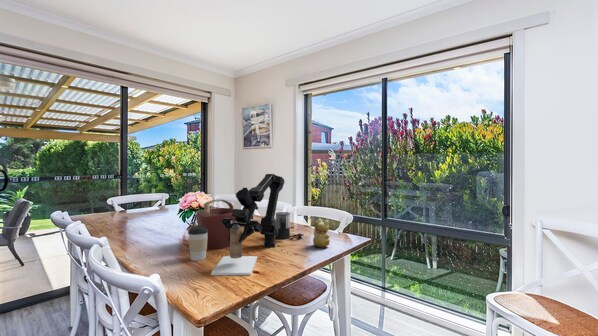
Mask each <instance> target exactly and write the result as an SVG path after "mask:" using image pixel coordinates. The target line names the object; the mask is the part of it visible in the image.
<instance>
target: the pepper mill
mask: <svg viewBox="0 0 598 336" xmlns="http://www.w3.org/2000/svg"><path fill="white" fill-rule="evenodd" d="M242 233H243V227H240V226H239V225H238V224H234V225H233V226H232V228H230V247H229V256H230V258H241V257H242V256H243V241H242V242H241V243H240V242H239V240H240V237H241V235H242Z"/></svg>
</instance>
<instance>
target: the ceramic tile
mask: <svg viewBox="0 0 598 336" xmlns="http://www.w3.org/2000/svg"><path fill="white" fill-rule="evenodd" d="M257 260H258V256H257V255H247V256H246V255H242V257H241V258H230V255H228V256H226V255H223V256H222V258H220V260H219V262H218V263H217V264H216V265H215V267H214V268H213V269H212V270H211V272H210V276H251V275H252V273H253V271H254V268H255V265H256V262H257Z"/></svg>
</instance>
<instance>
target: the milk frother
mask: <svg viewBox="0 0 598 336" xmlns="http://www.w3.org/2000/svg"><path fill="white" fill-rule="evenodd" d="M275 221H276V227H277V228H278V230H279V232H278V235H276V236H275V239H276V240H277V239H278V240H287V239H290V238H293V237H294V238H296V237H297V238H298V239H300V238H299V237H301V238H302V237H304V236H305V235H304V233H300V232H299V233H297V234H292V235H291V229H290V228H291V223H290V222H291V213H290V212H288V211H287V212H285V211H280V212H275Z"/></svg>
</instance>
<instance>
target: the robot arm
mask: <svg viewBox="0 0 598 336" xmlns="http://www.w3.org/2000/svg"><path fill="white" fill-rule="evenodd" d="M284 184H285V179H284V178H283V177H282V176H279V175H276V174H274V173H266V174H264V177H263V178H262V179H261V180H260V182H259V183H258V184H257V185H256V186H254V187H251V188H250V189H249V190H248V187H243V188H242V189H240V190H238V191H237V192H236V193H235V198H236V200H238V203H240V205H241V206H242V209H240V208H233V210H232V214H231V216H233V217H235V220H237V222H234V221H233V220H232V219H231V218H223V220H222V222H221V223H222V224H223V225H224V226H225V228H227V229H229V237H228V241H230V228H232V226H233V225H234V224H238V225H239V226H240V227H241V228H243V230H242V235H241V237H240V240H239V242H240V243H241V242H242V243H243V242H244V241H245V240H246V239H247V238H248V237H250V236H251V235H252V234H254V233H259V234H260V235H263V237H264V238H263V245H262V247H263V248H275V247H276V245H277V244H276V241H275V240H276V238H275V236H276V235H278V232H279V230H278V228H277V227H276V214H275V213H276V211H277V204H278V198H279V194H280V193H281V191H282V190H283V188H284ZM267 189H269V190H270V192H269V197H268V201H267V207H266V211H265V216H264V217H261V219H260V221H259V220H254V216H253V215H254V214H255V212H256V211H257V210H258V209H259V206H258V204H257V202H258V203H261V202H262V200H263V199H264V197H265V192H266V191H267Z"/></svg>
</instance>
